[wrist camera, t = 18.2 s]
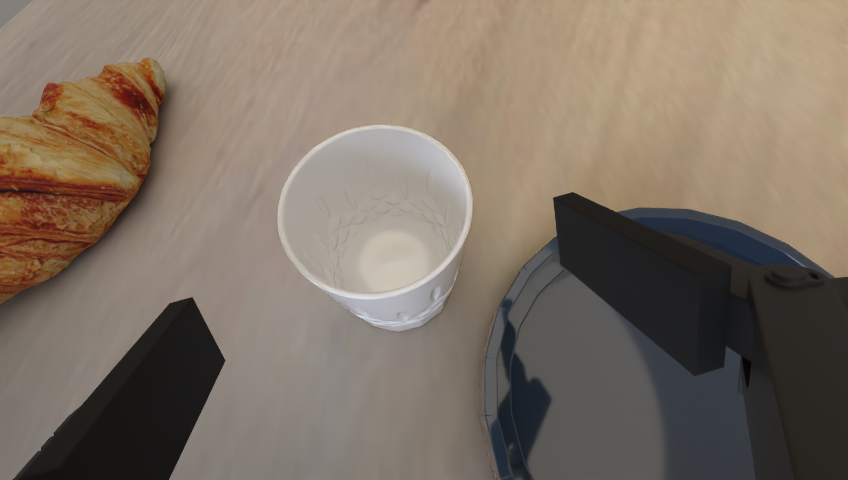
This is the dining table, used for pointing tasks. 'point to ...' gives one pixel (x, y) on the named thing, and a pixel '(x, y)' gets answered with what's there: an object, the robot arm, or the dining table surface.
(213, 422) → the dining table surface
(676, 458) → the plate
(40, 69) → the dining table surface
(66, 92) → the croissant
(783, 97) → the dining table surface
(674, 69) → the dining table surface
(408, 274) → the white cup
